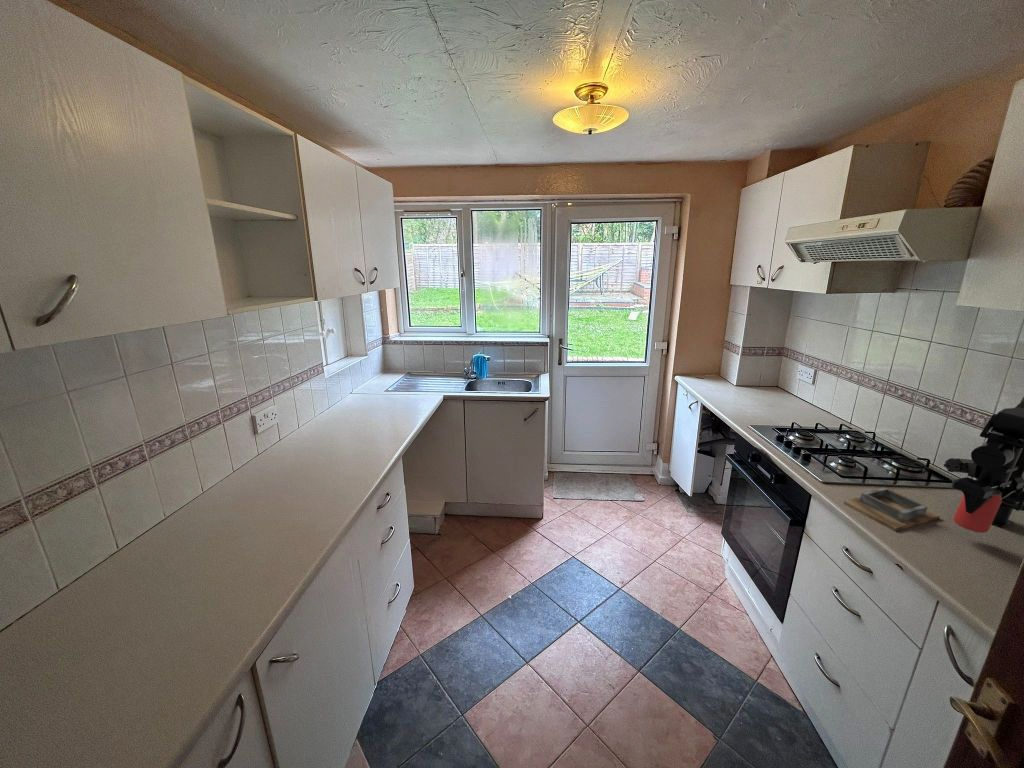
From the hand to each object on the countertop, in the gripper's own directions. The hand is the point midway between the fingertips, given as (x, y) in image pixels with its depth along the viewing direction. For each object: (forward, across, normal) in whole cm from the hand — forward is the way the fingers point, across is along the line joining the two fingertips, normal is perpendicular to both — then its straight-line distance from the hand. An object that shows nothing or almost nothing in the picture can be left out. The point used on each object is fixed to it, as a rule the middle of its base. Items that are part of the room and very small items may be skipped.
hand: (976, 510), depth 108 cm
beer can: (+5, 0, 0) cm, 5 cm away
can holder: (+9, +5, -15) cm, 18 cm away
